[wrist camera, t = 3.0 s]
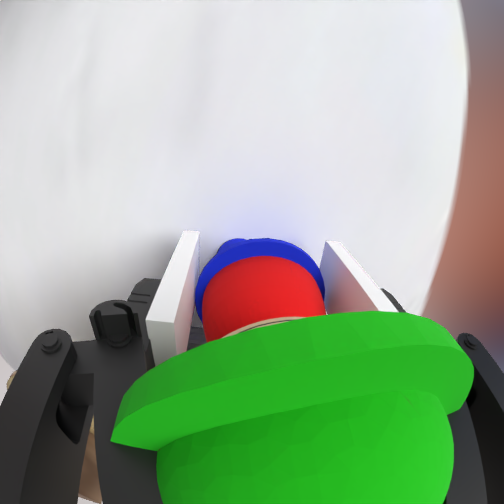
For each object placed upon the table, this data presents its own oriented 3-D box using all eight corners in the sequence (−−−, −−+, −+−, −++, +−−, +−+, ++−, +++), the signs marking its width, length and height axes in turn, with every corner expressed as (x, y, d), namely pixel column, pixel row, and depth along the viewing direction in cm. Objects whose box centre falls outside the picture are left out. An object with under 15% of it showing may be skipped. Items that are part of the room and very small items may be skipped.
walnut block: (27, 405, 11) (6, 455, 7) (67, 411, 11) (46, 474, 7) (68, 441, 14) (55, 487, 9) (112, 448, 13) (101, 504, 9)
